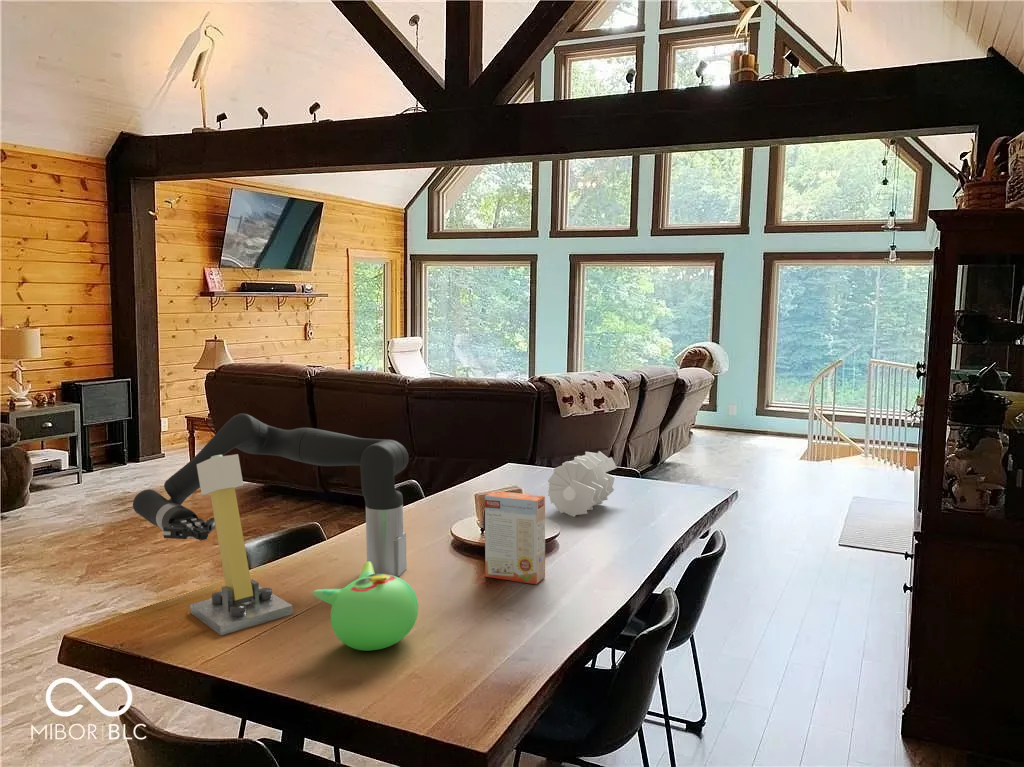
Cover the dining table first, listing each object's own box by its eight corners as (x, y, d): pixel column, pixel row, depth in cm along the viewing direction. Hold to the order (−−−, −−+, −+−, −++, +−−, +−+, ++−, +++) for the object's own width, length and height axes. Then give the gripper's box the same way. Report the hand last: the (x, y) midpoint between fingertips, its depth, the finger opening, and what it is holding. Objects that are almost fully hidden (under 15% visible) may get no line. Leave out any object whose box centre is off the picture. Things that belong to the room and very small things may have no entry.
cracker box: (546, 577, 193) (546, 495, 191) (536, 585, 188) (536, 500, 186) (495, 569, 199) (494, 489, 197) (484, 577, 194) (484, 494, 191)
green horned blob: (375, 672, 144) (373, 596, 143) (310, 651, 153) (307, 578, 152) (434, 637, 160) (433, 567, 158) (372, 619, 168) (371, 553, 167)
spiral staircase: (556, 529, 248) (583, 506, 270) (604, 511, 240) (628, 489, 262) (532, 476, 248) (562, 457, 271) (579, 457, 240) (605, 440, 263)
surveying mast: (220, 607, 172) (195, 461, 176) (246, 600, 176) (222, 457, 180) (236, 606, 166) (210, 454, 170) (263, 599, 170) (237, 450, 174)
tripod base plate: (190, 612, 172) (189, 584, 171) (259, 594, 183) (258, 567, 182) (220, 635, 160) (219, 605, 160) (292, 614, 171) (291, 585, 170)
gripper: (148, 510, 191) (174, 525, 179) (202, 501, 200) (230, 515, 188) (149, 540, 192) (176, 557, 180) (203, 529, 201) (231, 545, 189)
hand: (204, 535), depth 184 cm, fingers closed
